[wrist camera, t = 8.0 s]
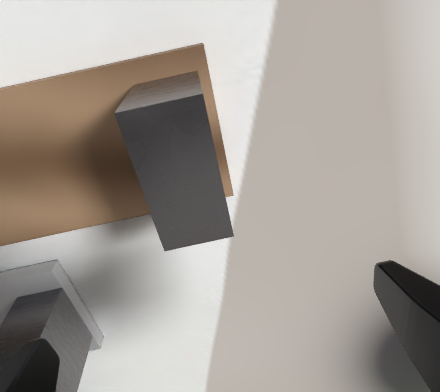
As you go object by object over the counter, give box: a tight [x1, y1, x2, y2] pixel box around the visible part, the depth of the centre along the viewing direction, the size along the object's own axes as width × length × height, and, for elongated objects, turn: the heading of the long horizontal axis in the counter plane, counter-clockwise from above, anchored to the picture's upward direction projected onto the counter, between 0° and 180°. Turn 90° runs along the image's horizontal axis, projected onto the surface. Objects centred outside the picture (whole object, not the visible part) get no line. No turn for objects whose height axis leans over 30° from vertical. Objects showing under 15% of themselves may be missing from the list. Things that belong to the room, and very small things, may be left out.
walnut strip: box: [0, 43, 234, 251], centre depth 15 cm, size 8×21×6 cm, turn 101°
